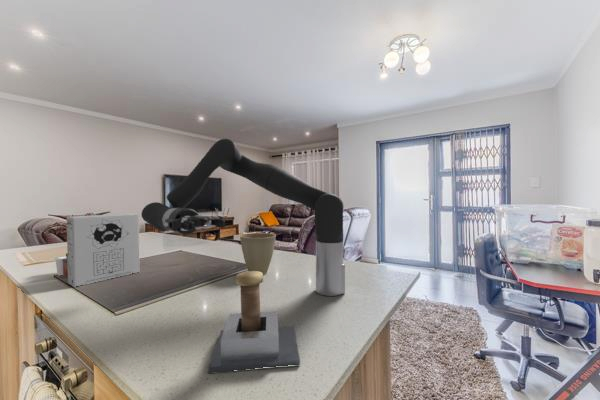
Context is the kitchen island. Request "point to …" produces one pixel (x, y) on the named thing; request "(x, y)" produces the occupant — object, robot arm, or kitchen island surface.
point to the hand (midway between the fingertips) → (209, 224)
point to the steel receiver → (254, 345)
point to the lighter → (65, 267)
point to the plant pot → (258, 250)
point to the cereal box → (102, 247)
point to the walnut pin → (250, 299)
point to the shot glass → (59, 265)
